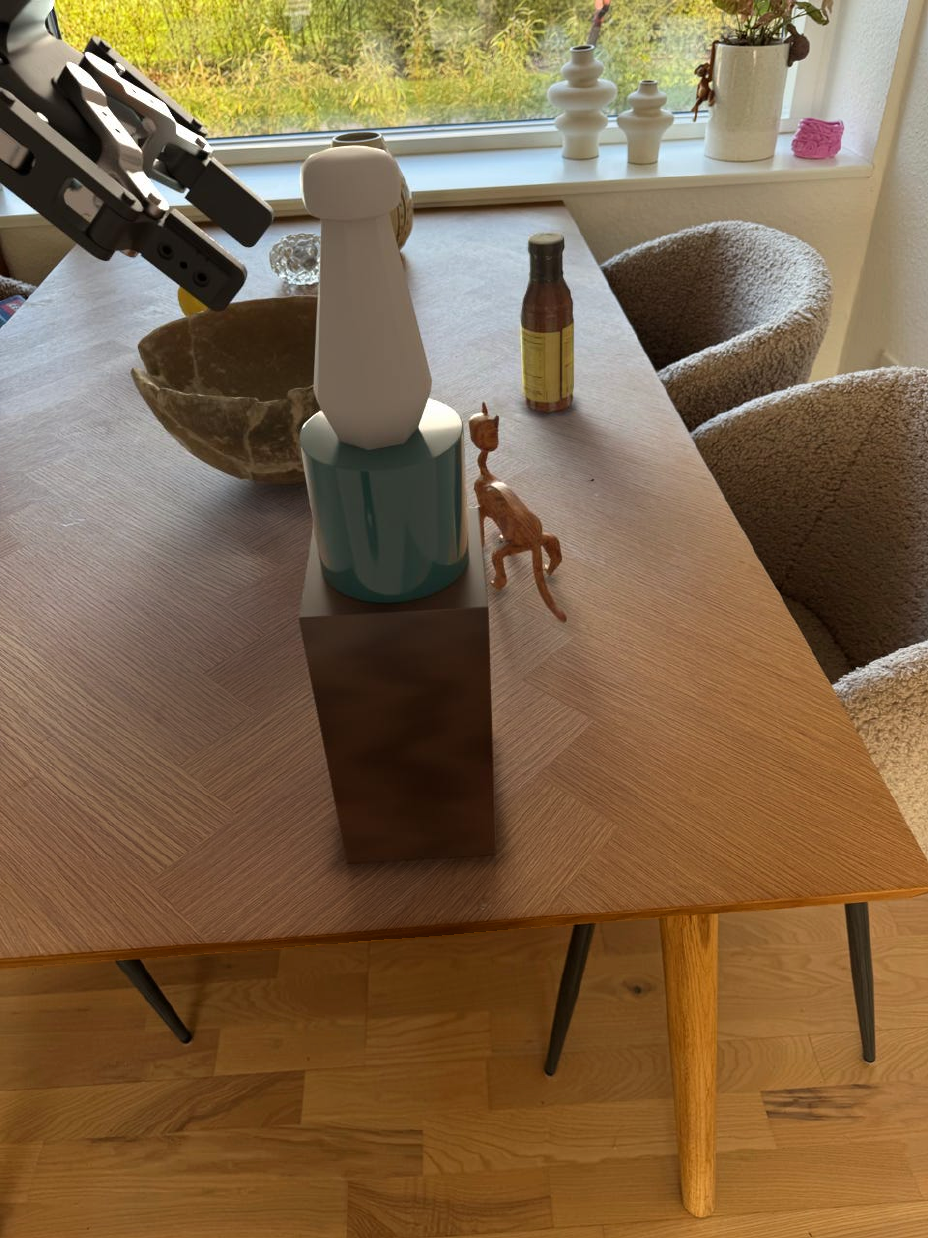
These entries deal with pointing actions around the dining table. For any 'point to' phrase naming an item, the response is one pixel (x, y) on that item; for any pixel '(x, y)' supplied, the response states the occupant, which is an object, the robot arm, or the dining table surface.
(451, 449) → the white-topped teal cylinder
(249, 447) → the bowl
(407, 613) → the stand
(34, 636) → the dining table surface
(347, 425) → the salt shaker
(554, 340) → the sauce bottle
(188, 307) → the apple
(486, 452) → the cat figurine
